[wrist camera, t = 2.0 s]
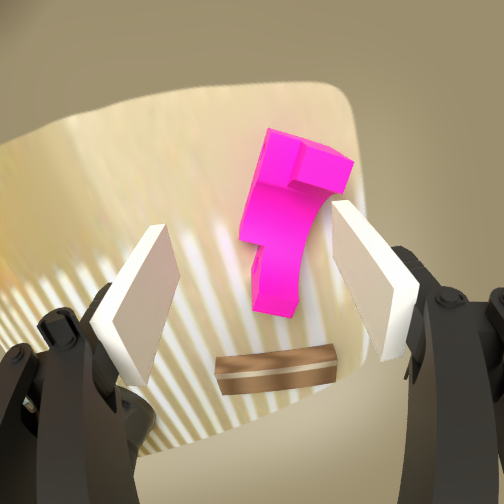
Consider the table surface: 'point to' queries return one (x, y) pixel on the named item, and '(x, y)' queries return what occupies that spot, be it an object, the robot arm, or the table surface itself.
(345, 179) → the toy block
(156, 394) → the table surface
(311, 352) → the walnut plank
